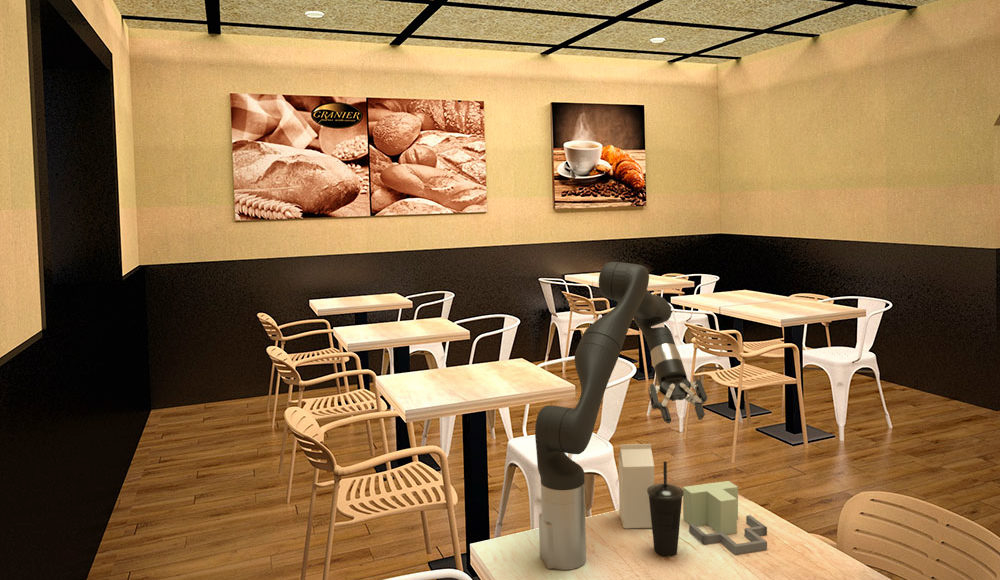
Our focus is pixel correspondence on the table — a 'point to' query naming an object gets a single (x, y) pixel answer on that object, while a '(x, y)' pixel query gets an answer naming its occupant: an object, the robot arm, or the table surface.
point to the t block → (712, 506)
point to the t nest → (750, 533)
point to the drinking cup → (665, 516)
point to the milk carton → (635, 485)
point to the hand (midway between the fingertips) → (685, 420)
